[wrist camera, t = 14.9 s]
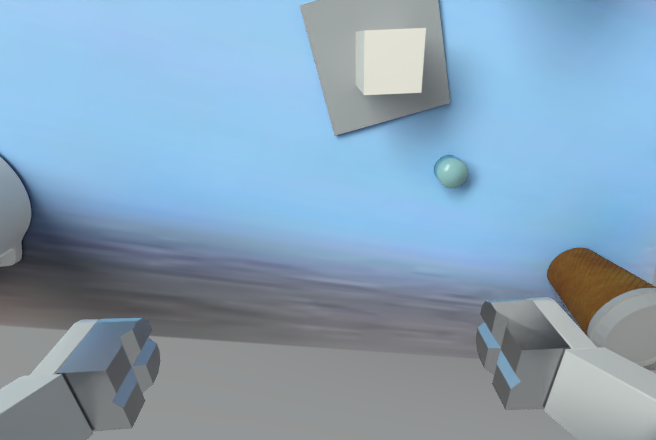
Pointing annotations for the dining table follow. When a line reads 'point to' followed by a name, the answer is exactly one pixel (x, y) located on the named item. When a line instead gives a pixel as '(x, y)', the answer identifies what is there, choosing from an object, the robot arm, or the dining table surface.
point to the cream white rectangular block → (390, 61)
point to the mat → (340, 58)
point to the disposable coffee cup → (607, 303)
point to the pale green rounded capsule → (451, 171)
